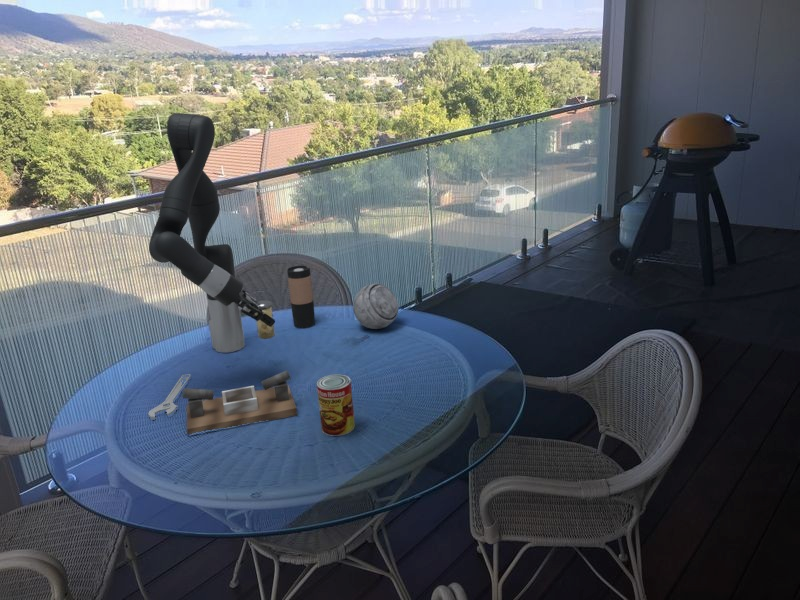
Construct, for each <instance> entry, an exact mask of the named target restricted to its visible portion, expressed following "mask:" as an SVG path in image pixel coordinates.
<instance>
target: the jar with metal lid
mask: <svg viewBox="0 0 800 600" xmlns="http://www.w3.org/2000/svg"><path fill="white" fill-rule="evenodd" d="M257 301H258V302H255V303H256V304H257V305H258V306H259V309H261V310H262V311H264V313H266V314H267V315H269V316H270V317H272V318H273V319H274V315H273V316H272V314H273V311H272V310H273V308H272V306H273V305H272V301H270V300H269V299H268V300H265V299H264V300H257ZM254 307H255V306H254ZM255 315H258V313H257V312H256V313H255ZM274 325H275V323H274V324H273V326H272V327H269V326H268V325H267V324H265V323H264V322H262V321H261V320H259V321H256V327H257V328H256V329H257V335H258V338H259V339H263V340H267V339H272V338H273V337H275V335H276V333H275V327H274Z"/></svg>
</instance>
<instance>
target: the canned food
mask: <svg viewBox="0 0 800 600" xmlns="http://www.w3.org/2000/svg"><path fill="white" fill-rule="evenodd" d="M316 390H317V391H316V392H317V400H318V410H319V417H320V426H321V432H322V433H323V434H325V435H326V436H331V437H338V436H344V435H347V434H349V433H351V432H352V431H354V429H355V423H356V422H355V414H354V402H353V392H352V380H351V378H350V377H349V376H348V375H344V374H330V375H329V374H328V375H326V376H323V377H321V378H319V379H318V380H317V382H316Z"/></svg>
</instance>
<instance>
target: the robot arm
mask: <svg viewBox="0 0 800 600" xmlns="http://www.w3.org/2000/svg"><path fill="white" fill-rule="evenodd" d="M166 131H167V139H168V143H169V146H170V149H171V152H172V156H173V159H174V162H175V166H176V169H177V171H178V172H177V174H176V175H175V176H174V177H173V178H172V179H171V180H170V182H169V183H168V184H167V186H166V187H165V190H164V193H163V194H162V195H163V196H162V200H161V203H160V207H159V210H158V212H159V213H158V219H157V220H156V223H155V226H154V227H153V228H154V229H153V231H152V233H151V236H150V240H149V243H148V252H149V256H151V257H152V259H153V260H154V261H156V262H158V263H171V264H172V265H174V266H175V267H176V268H177V269H179V270H180V273H181V274H182V276H183V277H185V278H186V279H187V280H189V281H190V282H191V283H193V284H194V285H195V286H197V287H199V289H201V290H202V291H203V292H204V293H205V294H206V299H207V306H208V310H209V312H208V313H209V317H210V319H209V320H208V326H209V327H208V328H209V331H210V338H211V339H210V340H211V343H212V344H211V345H212V346H211V347H212V349H213V350H215V351H216V352H218V353H222V354H223V353H233V352H234V353H235V352H237V351H240V350H242V349H244V347H245V346H246V343H245V342H246V341H245V335H244V329H243V322H242V321H243V320H242V313H243V314H244V315H246V316H248V317H250V318H251V319H253V320H255V321H256V322H257V321H259V320H261V321H262V322H264V323H265V324H267V325H268V326H269V327H272V326H273V324H274V325H275V323H276V320H275V319H274V314H273V313H272V316H273V318H272V317H270V316H269V315H267V314H266V313H264V311H262V310H261V309H259V306H258V305H257V304H256V303H255V302H258V301H259V300H258V299H256V298H255V297H254V296H253V295H251V294H250V293H249V292H248V291H246V290H245V289H243V288H244V284H243V282H242V281H241V280H239V279H237V278H236V273H235V271H236V270H235V262H234V261H235V260H234V254H233V253H234V252H233V249H232V247H231V246H230V244H228V243H221V244H212V245H206V241H207V238H208V236H209V233H210V232H211V230H212V228H213V227H214V224H215V223H216V221H217V219H218V217H219V215H220V210H221V208H220V207H221V206H220V200H219V194H218V191H217V186H215V184H214V183H213V181H212V180H211V178H210V176H208V175H207V173H205V171H204V169H205V166H206V165H207V161H208V159H209V156H210V153H211V151H212V148H213V145H214V142H215V136H216V129H215V124H214V122H213V120H212V119H211V117H210V116H207V115H201V114H192V113H185V112H182V113H181V112H175V113H171V114H170V116H169V117H168V119H167V124H166ZM187 222H188V223H189V226H190V230H191V236H192V241H193V246H192V244H190V243H189V242H188V240H186V239H185V238H183V237H182V231H183V229H184V227H185V226H186V224H187ZM254 306H255V307H254ZM256 312H257V313H258V315H256V314H255V313H256Z"/></svg>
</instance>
